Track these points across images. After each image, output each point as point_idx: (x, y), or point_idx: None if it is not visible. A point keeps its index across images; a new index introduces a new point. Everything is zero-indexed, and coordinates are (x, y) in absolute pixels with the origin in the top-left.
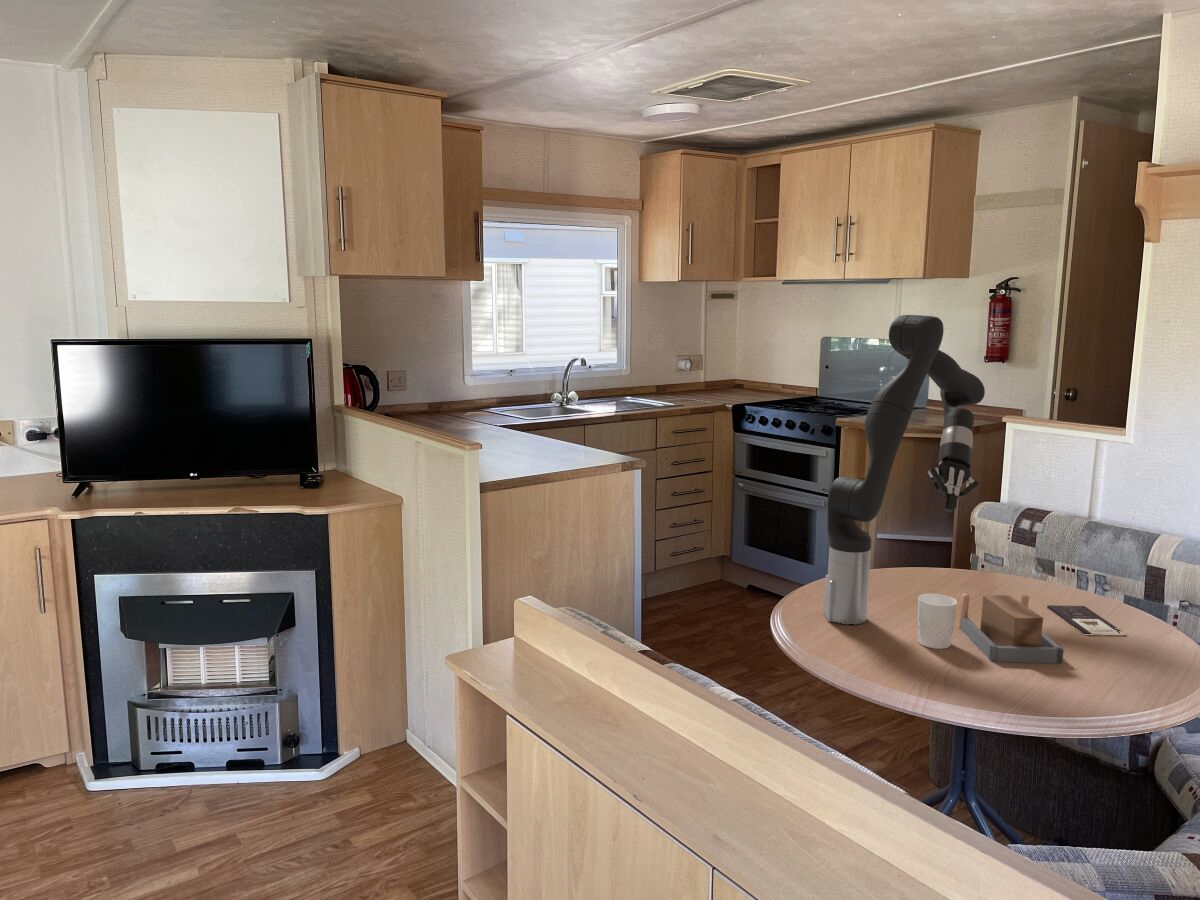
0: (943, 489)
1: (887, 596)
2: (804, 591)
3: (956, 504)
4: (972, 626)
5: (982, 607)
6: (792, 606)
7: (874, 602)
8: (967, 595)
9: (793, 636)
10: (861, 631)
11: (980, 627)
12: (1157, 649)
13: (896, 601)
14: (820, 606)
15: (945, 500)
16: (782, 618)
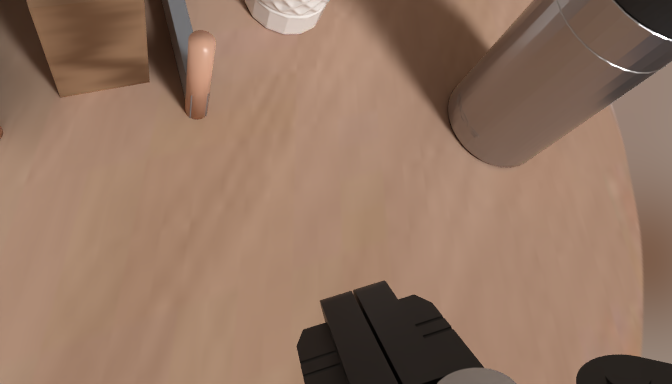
0: (587, 366)
1: None
2: (636, 305)
3: (303, 363)
4: (184, 10)
5: (145, 24)
6: (616, 174)
7: (450, 269)
8: (196, 35)
9: None
10: (444, 49)
11: (148, 71)
12: None
13: None
14: (564, 191)
15: (451, 330)
16: None
